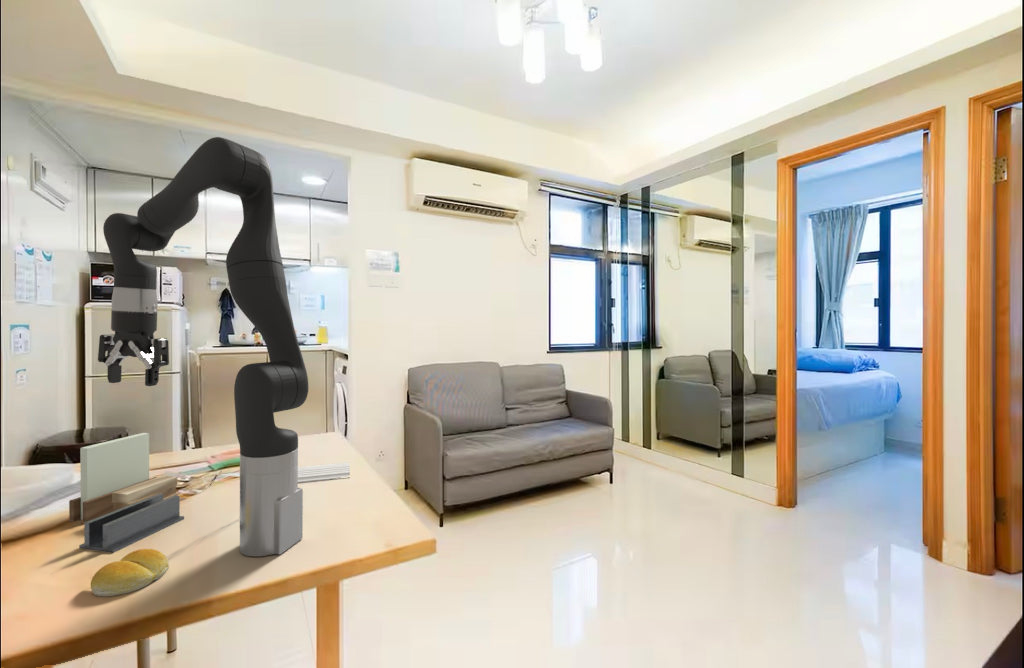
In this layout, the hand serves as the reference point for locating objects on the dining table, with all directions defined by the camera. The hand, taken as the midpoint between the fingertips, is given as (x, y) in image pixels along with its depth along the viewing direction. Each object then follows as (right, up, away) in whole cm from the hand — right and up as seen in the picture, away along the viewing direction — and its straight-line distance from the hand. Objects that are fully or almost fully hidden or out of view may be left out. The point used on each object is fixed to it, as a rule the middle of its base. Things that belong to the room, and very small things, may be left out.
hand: (133, 384), depth 95 cm
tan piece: (+8, -25, -6) cm, 27 cm away
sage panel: (+1, -25, -4) cm, 25 cm away
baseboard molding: (+24, -27, +18) cm, 40 cm away
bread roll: (+23, -28, -27) cm, 45 cm away
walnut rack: (+4, -27, -5) cm, 27 cm away
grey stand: (+13, -27, -15) cm, 34 cm away
